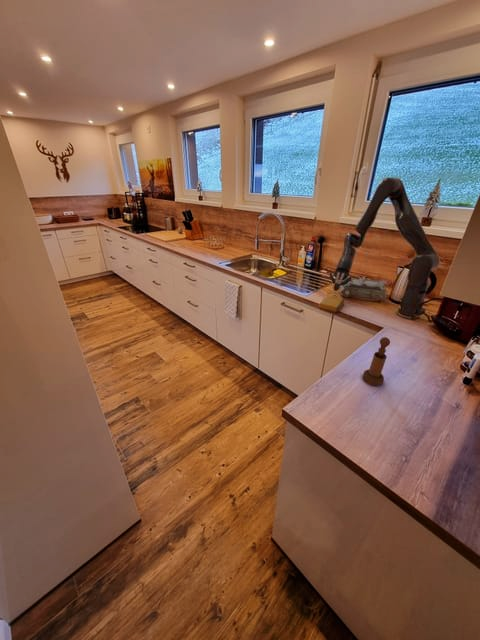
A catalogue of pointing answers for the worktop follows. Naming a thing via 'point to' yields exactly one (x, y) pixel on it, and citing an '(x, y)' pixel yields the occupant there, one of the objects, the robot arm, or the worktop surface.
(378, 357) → the brown knobbed pedestal
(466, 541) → the worktop surface
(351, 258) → the robot arm
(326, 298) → the tan upright box
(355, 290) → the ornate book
